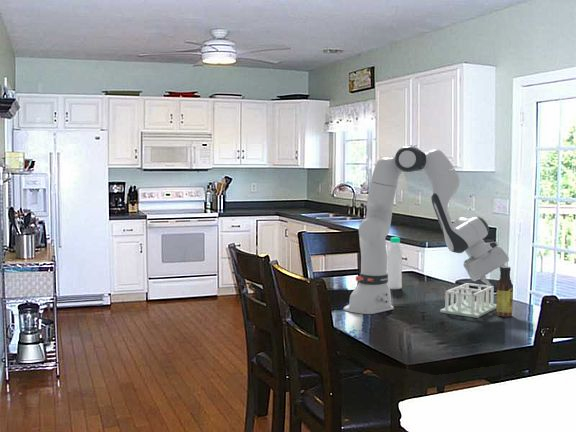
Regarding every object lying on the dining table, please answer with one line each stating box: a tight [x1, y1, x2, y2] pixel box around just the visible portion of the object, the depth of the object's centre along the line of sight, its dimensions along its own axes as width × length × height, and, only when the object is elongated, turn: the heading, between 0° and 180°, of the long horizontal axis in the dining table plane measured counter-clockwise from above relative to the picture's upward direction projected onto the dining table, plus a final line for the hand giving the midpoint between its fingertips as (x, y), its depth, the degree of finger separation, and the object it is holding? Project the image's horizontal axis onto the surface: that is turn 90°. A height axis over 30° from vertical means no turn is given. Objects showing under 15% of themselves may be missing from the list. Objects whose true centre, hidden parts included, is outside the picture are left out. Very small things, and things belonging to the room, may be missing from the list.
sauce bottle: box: [495, 265, 514, 318], centre depth 261 cm, size 6×6×20 cm
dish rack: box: [439, 282, 496, 319], centre depth 272 cm, size 25×16×9 cm, turn 143°
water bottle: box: [387, 236, 403, 290], centre depth 317 cm, size 7×7×25 cm
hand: (498, 280), depth 267 cm, fingers open, 8 cm apart
